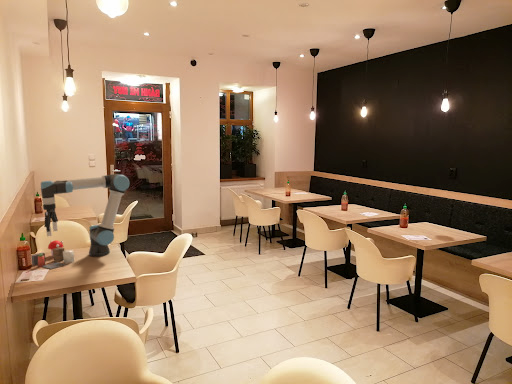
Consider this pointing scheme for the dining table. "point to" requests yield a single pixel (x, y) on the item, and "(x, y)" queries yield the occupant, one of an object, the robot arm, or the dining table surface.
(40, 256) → the sauce shaker
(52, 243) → the mushroom
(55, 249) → the walnut block
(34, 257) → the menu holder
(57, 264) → the slate coaster
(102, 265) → the dining table surface
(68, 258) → the beige rounded block
